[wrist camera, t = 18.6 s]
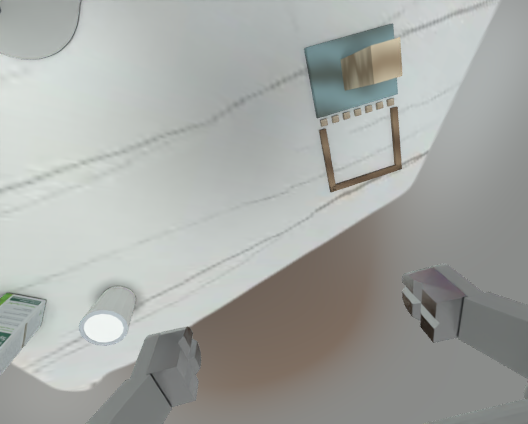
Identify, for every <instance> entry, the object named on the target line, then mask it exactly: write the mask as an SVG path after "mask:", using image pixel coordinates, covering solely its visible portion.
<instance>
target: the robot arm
mask: <svg viewBox="0 0 528 424" xmlns="http://www.w3.org/2000/svg"><path fill="white" fill-rule="evenodd" d="M80 1H81V0H0V53H1V54H3V55H6V56H10V57H13V58H18V59H40V58H45V57H48V56H51V55H53V54H55V53H57V52H58V51H60V50H61V49H62V48H63V47H64V46H65V45H66V44H67V43H68V42H69V41H70V39H71V38H72V36H73V34H74V32H75V29H76V26H77V22H78V16H79V6H80ZM402 283H403V284H404V285H405V286H406V287H405V288H404V289H403V291H402V299H403V302H404V305H405V307H406V309H407V310H408V312H409V313H410V314H411V316H412V317H414V318H416V319H418V320H420V327H421V328H422V330H423V331H424V332H425V333H426V334H427V336H428V337H429V338H430V339H431V341H432V342H433V343H435V342H439V341H444V340H449V339H454V338H458V339H459V340H461V341H463V342H464V343H466V344H468V345H470V346H471V347H473V348H475V349H476V350H478V351H480V352H482V353H484V354H485V355H487V356H489V357H490V358H492V359H494V360H496V361H497V362H499V363H501V364H503V365H504V366H506V367H508V368H510V369H511V370H513V371H515V372H516V373H518V374H520V375H521V376H523V377H525V378H527V379H528V305H527V304H524V303H521V302H518V301H515V300H512V299H509V298H506V297H503V296H499V295H496V294H493V293H491V292H486V293H484V292H483V291H481V290H480V289H479V288H477V287H476V286H475V285H474V284H472V283H471V282H470V281H468V280H467V279H466V278H465V277H463V276H462V275H461V274H459V273H458V272H457V271H456V270H454V269H453V268H452V267H450V266H449V265H447V264H440V265H436V266H432V267H428V268H424V269H420V270H416V271H412V272H409V273H405V274H403V276H402ZM192 336H193V332H192V330H191V328H190V327H183V328H178V329H174V330H169V331H164V332H161V333H156V334H152V335H148V336H147V337H146V338H145V340H144V343H143V346H142V348H141V351H140V353H139V356H138V359H137V361H136V364H135V367H134V369H133V372H132V375H131V377H130V379H128V380H125V381H124V382H123V383H122V385H121V386H120V387H119V388H118V389H117V390H116V391H115V392H114V393H113V394H112V396H111V397H110V398H109V399H108V400H107V401H106V402H105V403H104V404H103V405H102V406H101V407H100V409H99V410H98V411H97V412H96V413H95V414H94V415H93V417H91V418H90V419H89V421H88V422H87V423H86V424H163V423H164V421H165V420H166V418H167V416H168V415H169V413H170V411H171V410H172V408H171V407H174V406H178V405H182V404H185V403H189V402H192V401H195V400H196V396H197V389H198V379H197V377H196V374H197V372H198V371H199V369H200V366H201V352H200V348H199V345H198V342H197V341H196V340H193V339H192ZM524 398H525V399H523V400H519V401H515V402H511V403H507V404H503V405H499V406H494V407H491V408H486V409H482V410H478V411H474V412H470V413H466V414H461V415H458V416H453V417H449V418H445V419H441V420H437V421H433V422H429V423H425V424H528V381H527V384H526V388H525V390H524Z"/></svg>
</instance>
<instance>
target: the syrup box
mask: <svg viewBox="0 0 528 424" xmlns="http://www.w3.org/2000/svg"><path fill="white" fill-rule="evenodd" d="M45 304H46V300H45V299H36V298H32V297H26V296H21V295H15V294H10V293H6V294H5V295H4V296H3V297H1V298H0V375H1V374H2V373H3V372H4V370H5V369H6V368H7V367H8V366H9V364H10V363H11V362H12V360H13V359H14V358H15V357H16V356H17V354H18V353H19V352H20V351H21V349H22V348H23V347H24V346H25V345H26V343H27V342H28V341H29V340H30V338H31V337H32V336H33V335H34V334H35V332H36V331H37V330H38V329H39V327H40V326H41V323H42V318H43V313H44V308H45Z"/></svg>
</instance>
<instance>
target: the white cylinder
mask: <svg viewBox="0 0 528 424" xmlns="http://www.w3.org/2000/svg"><path fill="white" fill-rule="evenodd" d="M135 301H136V298H135V295H134V293H133V292H132V291H131V290H130V289H128V288H125V287H120V286H116V287H111V288H109V289H107V290H106V291H105V292H104V293H103V294H102V295H101V297H100V298H99V299H98V300H97V302H96V303H95V304H94V305H93V306H92V308H91V309H90V310H89V311H88V312H87V314H86V315H85V316H84V317H83V319H82V320H81V321H80V325H79V331H80V333H81V336H82V337H83V338H84V339H85V340H87V341H88V342H90V343H93V344H95V345H103V346H107V345H112V344H116V343H117V342H119V341H121V340H123V338H124V337H125V336H126V334H127V332H128V328H129V325H130V321H131V317H132V313H133V310H134V306H135Z"/></svg>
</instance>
